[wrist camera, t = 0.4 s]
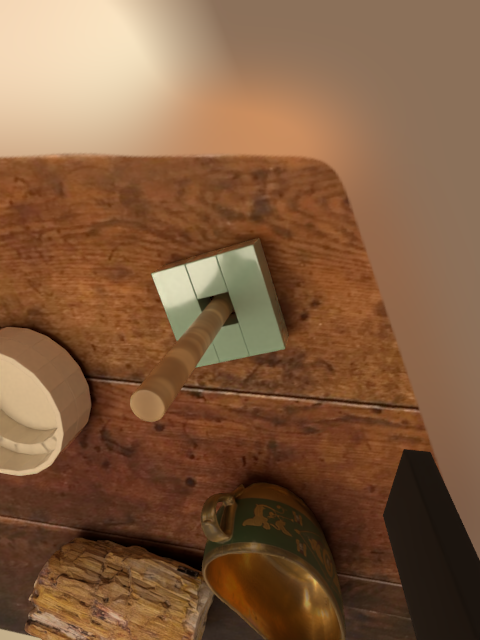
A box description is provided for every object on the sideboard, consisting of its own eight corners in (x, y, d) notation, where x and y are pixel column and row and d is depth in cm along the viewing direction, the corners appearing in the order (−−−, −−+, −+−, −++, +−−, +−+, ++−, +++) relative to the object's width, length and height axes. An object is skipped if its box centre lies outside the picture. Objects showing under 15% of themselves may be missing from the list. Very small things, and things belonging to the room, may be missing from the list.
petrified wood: (68, 588, 59) (16, 653, 49) (83, 501, 56) (32, 552, 47) (206, 640, 56) (180, 721, 46) (227, 551, 53) (205, 617, 44)
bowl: (60, 310, 44) (20, 333, 38) (114, 430, 48) (86, 466, 43) (-46, 339, 48) (-95, 364, 43) (13, 447, 52) (-26, 482, 47)
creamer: (345, 452, 43) (346, 536, 34) (344, 600, 50) (346, 702, 41) (217, 444, 46) (186, 519, 37) (233, 584, 53) (211, 677, 44)
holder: (259, 237, 37) (253, 244, 34) (289, 335, 40) (285, 349, 37) (163, 265, 40) (150, 273, 37) (197, 355, 43) (187, 369, 40)
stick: (233, 287, 39) (156, 386, 23) (240, 307, 40) (170, 419, 23) (212, 292, 40) (123, 393, 23) (219, 312, 40) (137, 424, 24)
